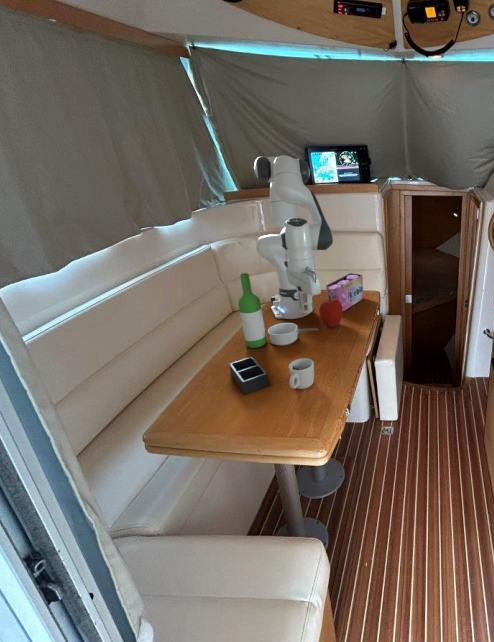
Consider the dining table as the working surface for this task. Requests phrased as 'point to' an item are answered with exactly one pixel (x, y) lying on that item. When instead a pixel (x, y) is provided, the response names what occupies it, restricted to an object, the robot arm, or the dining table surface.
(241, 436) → the dining table surface
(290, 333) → the saucepan
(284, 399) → the dining table surface
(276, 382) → the dining table surface
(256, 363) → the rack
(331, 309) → the apple
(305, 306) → the beer can
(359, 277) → the gum box
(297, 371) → the cup
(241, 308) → the bottle
